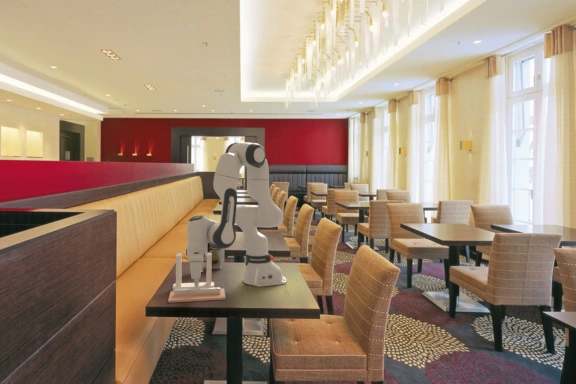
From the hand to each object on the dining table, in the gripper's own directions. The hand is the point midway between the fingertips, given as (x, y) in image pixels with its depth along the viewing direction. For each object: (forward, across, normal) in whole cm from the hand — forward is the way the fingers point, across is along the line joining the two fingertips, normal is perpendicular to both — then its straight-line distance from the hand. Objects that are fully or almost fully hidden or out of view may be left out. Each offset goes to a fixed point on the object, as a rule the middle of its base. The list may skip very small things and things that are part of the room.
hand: (197, 282), depth 164 cm
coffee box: (+8, -46, +7) cm, 47 cm away
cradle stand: (+6, -11, -2) cm, 13 cm away
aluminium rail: (+5, +2, 0) cm, 5 cm away
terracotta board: (+6, +2, 0) cm, 6 cm away
